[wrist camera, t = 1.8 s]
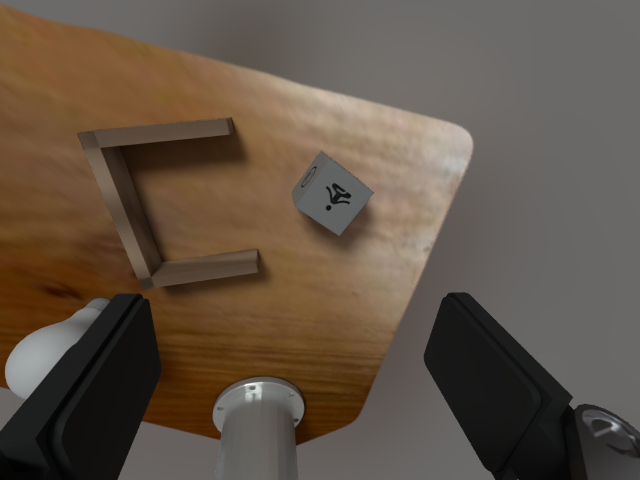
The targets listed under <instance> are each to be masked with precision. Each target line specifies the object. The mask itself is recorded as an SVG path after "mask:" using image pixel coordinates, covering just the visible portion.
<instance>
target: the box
mask: <svg viewBox="0 0 640 480" xmlns="http://www.w3.org/2000/svg"><path fill="white" fill-rule="evenodd" d="M233 132H234V129H233V124H232V119H231V117H229V118H218V119H208V120H198V121H187V122H177V123H166V124H156V125H145V126H135V127H125V128H114V129H104V130H95V131H88V132H81V133H77V135H78V137H79V140H80V142H81V144H82V147H83V149H84V152H85V154H86V156H87V159H88V161H89V164H90V166H91V168H92V171H93V173H94V175H95V178H96V180H97V183H98V185H99V187H100V190H101V192H102V195H103V197H104V199H105V202H106V204H107V207H108V209H109V211H110V214H111V216H112V219H113V221H114V223H115V226H116V228H117V230H118V233H119V235H120V238H121V240H122V242H123V245H124V247H125V250H126V252H127V254H128V257H129V259H130V262H131V264H132V266H133V269H134V271H135V274H136V276H137V278H138V281H139V283H140V285H141V288H142V289H149V288H156V287H163V286H169V285H176V284H183V283H190V282H197V281H203V280H210V279H217V278H224V277H230V276H237V275H244V274H251V273H258V267H259V255H258V249H252V250H245V251H238V252H231V253H223V254H216V255H209V256H202V257H195V258H187V259H180V260H173V261H166V262H161V259H160V256H159V254H158V251H157V248H156V245H155V243H154V240H153V237H152V234H151V232H150V229H149V226H148V223H147V221H146V218H145V215H144V213H143V210H142V207H141V204H140V202H139V199H138V196H137V193H136V191H135V188H134V185H133V182H132V180H131V177H130V174H129V172H128V169H127V166H126V163H125V161H124V158H123V155H122V152H121V150H120V147H119V146H122V145H132V144H142V143H151V142H161V141H171V140H181V139H191V138H201V137H211V136H220V135H230V134H231V133H233Z"/></svg>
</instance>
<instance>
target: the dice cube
mask: <svg viewBox="0 0 640 480" xmlns="http://www.w3.org/2000/svg"><path fill="white" fill-rule="evenodd" d="M373 194H374V192H373V191H372V190H370V189H369V188H368V187H367V186H366V185H365V184H363V183H362V182H361V181H360V180H359V179H358V178H356V177H355V176H354V175H352V174H351V173H350V172H349V171H347V170H346V169H345V168H343V167H342V166H341V165H340V164H338V163H337V162H336V161H334V160H333V159H332V158H331V157H329V156H328V155H327V154H325V153H324V152H323V151H322V150H321V151H320V153H319V154H318V155H317V157H316V158H315V160H314V161H313V162H312V164H311V165H310V167H309V168H308V169H307V171H306V172H305V173H304V175H303V176H302V178H301V179H300V180H299V182H298V183H297V185H296V186H295V187H294V189H293V190H292V196H293V200H294V205H295V207H296V208H298V209H299V210H301V211H302V212H304V213H305V214H307V215H308V216H310V217H311V218H313V219H314V220H316V221H317V222H319V223H320V224H322V225H323V226H325V227H326V228H328V229H329V230H331V231H332V232H334V233H335V234H337V235H338V236H340V234H341V233H342V232H343V231H344V230H345V228H346V227H347V226H348V225H349V223H350V222H351V221H352V220H353V218H354V217H355V216H356V215H357V213H358V212H359V211H360V210H361V208H362V207H363V206H364V205H365V204H366V202H367V201H368V200H369V199H370V197H371V196H372V195H373Z"/></svg>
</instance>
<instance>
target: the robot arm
mask: <svg viewBox="0 0 640 480" xmlns="http://www.w3.org/2000/svg"><path fill="white" fill-rule="evenodd" d="M424 362H425V365H426V367H427V368H428V370H429V372H430V374H431V375H432V377H433V379H434V381H435V382H436V384H437V386H438V388H439V389H440V391H441V393H442V395H443V396H444V398H445V400H446V402H447V403H448V405H449V407H450V409H451V410H452V412H453V414H454V416H455V417H456V419H457V420H458V422H459V424H460V426H461V428H462V429H463V431H464V433H465V435H466V436H467V438H468V440H469V441H470V443H471V445H472V447H473V449H474V450H475V452H476V454H477V455H478V457H479V459H480V460H481V462H482V464H483V466H484V467H485V468H486V469H487V470H488V471H490V472H491V473H492V474H493V476H494V478H495V480H517V479H519V480H640V432H639V431H638V430H636V429H635V428H634V427H633V426H631V425H630V424H629V423H628V422H627V421H625V420H624V419H622V418H621V417H619V416H618V415H616V414H614V413H612V412H610V411H608V410H606V409H604V408H601V407H598V406H595V405H590V404H582V405H578V406H577V408H575V410H573V409H572V407H571V406H570V405H569V403H570V401H571V400H572V398H573V397H572V395H570V393H569V392H568V391H567V390H565V389H564V388H563V387H562V386H561V385H560V384H559V383H558V382H557V381H556V380H555V379H554V378H553V377H552V376H551V375H550V374H549V373H548V372H547V371H546V370H545V369H544V368H543V367H542V366H541V365H540V364H539V363H538V362H537V361H536V360H535V359H534V358H533V357H532V356H531V355H530V354H529V353H528V352H527V351H526V350H525V349H524V348H523V347H522V346H521V345H520V344H519V343H518V342H517V341H516V340H515V339H514V338H513V337H512V336H511V335H510V334H509V333H508V332H507V331H506V330H505V329H504V328H503V327H502V326H500V324H499V323H498V322H497V321H496V320H495V319H494V318H493V317H492V316H491V315H490V314H489V313H488V312H487V311H486V310H484V308H483V307H482V306H481V305H480V304H479V303H478V302H477V301H476V300H475V299H474V298H473V297H472V296H471V295H469V294H468V293H464V292H463V293H448V294H447V296H446V297H444V298H443V299H442V302H441V305H440V308H439V311H438V314H437V317H436V320H435V323H434V326H433V329H432V332H431V335H430V338H429V341H428V344H427V347H426V350H425V353H424ZM160 372H161V364H160V358H159V353H158V347H157V342H156V336H155V331H154V325H153V319H152V314H151V308H150V303H149V300H148V299H143V297H142V295H141V294H116V295H115V296H114V297H113V298H112V300H111V301H110V302H109V303H108V305H107V306H106V307H105V308H104V310H103V311H102V312H101V313H100V314H99V316H98V317H97V318H96V319H95V321H94V322H93V323H92V324H91V326H90V327H89V328H88V329H87V331H86V332H85V333H84V334H83V335H82V337H81V338H80V339H79V340H78V342H77V343H76V344H74V345H72V346H71V347H70V348H69V349H68V350H67V351H66V352H65V353H64V355H63V356H62V357H61V358H60V360H59V361H58V362H57V363H56V364H55V366H54V367H53V368H52V369H51V370H50V372H49V373H48V374H47V375H46V377H45V378H44V379H43V380H42V381H41V383H40V384H39V385H38V386H37V387H36V389H35V390H34V391H33V392H32V393H31V395H30V396H29V397H28V398H27V400H26V401H25V402H24V403H23V404H22V406H21V407H20V408H19V409H18V410H17V412H16V413H15V414H14V415H13V417H12V418H11V419H10V420H9V422H8V423H7V424H6V425H5V426H4V427H3V429H2V430H1V431H0V480H117V479H118V477H119V474H120V472H121V470H122V467H123V465H124V462H125V459H126V457H127V455H128V453H129V450H130V447H131V445H132V443H133V440H134V438H135V436H136V433H137V431H138V428H139V425H140V423H141V421H142V419H143V416H144V414H145V411H146V409H147V406H148V404H149V401H150V399H151V397H152V394H153V392H154V389H155V387H156V384H157V382H158V380H159V377H160ZM303 414H304V401H303V397H302V395H301V392H300V391H299V390H298V389H297V388H296V387H295V386H294V385H292V384H291V383H289V382H287V381H285V380H282V379H278V378H273V377H255V378H249V379H245V380H242V381H239V382H237V383H235V384H233V385H231V386H230V387H228V388H227V389H225V390H224V391H223V392H222V393H221V394H220V395H219V397H218V398H217V400H216V402H215V405H214V410H213V421H214V424H215V426H216V427H217V429H218V430H219V431H220V432H221V433H222V434H221V441H220V447H219V453H218V461H217V466H216V472H215V479H214V480H298V471H297V457H296V456H297V455H296V441H295V427H296V426H297V425H298V423H299V422H300V421H301V419H302V417H303Z"/></svg>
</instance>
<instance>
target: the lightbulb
mask: <svg viewBox="0 0 640 480" xmlns="http://www.w3.org/2000/svg"><path fill="white" fill-rule="evenodd" d="M109 302H110V300H108V299H105V298H97V299H94V300H92V301H91V302H90V303H89V304H88V305H87V306H86V307H85V308H83V309H81V310H79V311H77V312H76V313H75V314H74V315H73V316H72V317H70V318H69V319H67V320H65V321H63V322H60V323H56V324H53V325H50V326H47V327H44V328H41V329H39V330H37V331H35V332H33V333H32V334H30V335H28V336H27V337H25V338H24V339H23V340H22V341H21V342H20V343H19V344H18V345H17V346H16V347H15V349H14V350H13V351H12V353H11V354H10V356H9V358H8V361H7V363H6V368H5V377H6V381H7V384H8V386H9V388H10V389H11V390H12V391H13V392H14V393H15V394H16V395H18V396H19V397H21V398H23V399H26V400H27V398H28V397H29V396H30V395H31V393H32V392H33V391H34V390H35V389H36V387H37V386H38V385H39V384H40V383H41V381H42V380H43V379H44V378H45V377H46V375H47V374H48V373H49V372H50V370H51V369H52V368H53V367H54V366H55V364H56V363H57V362H58V361H59V360H60V358H61V357H62V356H63V355H64V353H65V352H66V351H67V350H68V349H69V348H70V347H71V346H72V345H74V344H76V343H77V342H78V340H79V339H80V338H81V337H82V335H83V334H84V333H85V332H86V331H87V329H88V328H89V327H90V326H91V324H92V323H93V322H94V321H95V319H96V318H97V317H98V316H99V314H100V313H101V312H102V311H103V310H104V308H105V307H106V306H107V305H108V303H109Z"/></svg>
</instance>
